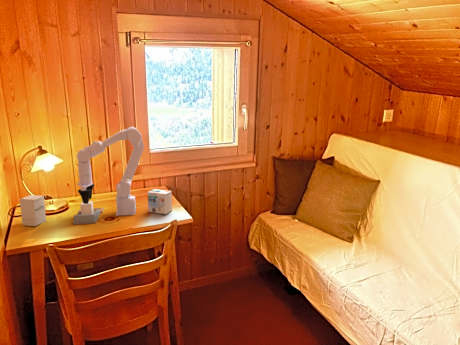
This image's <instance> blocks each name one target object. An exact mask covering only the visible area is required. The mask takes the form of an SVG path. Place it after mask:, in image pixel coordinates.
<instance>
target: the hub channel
mask: <svg viewBox="0 0 460 345" xmlns="http://www.w3.org/2000/svg"><path fill="white" fill-rule="evenodd" d="M100 214H101V213H100V212H99V209H97V210H96V212H94V213H93V214H85V215H81V209H80V210H78V212H77V214H73V222H72V224H73V225H83V224H87V225H88V224H96V223H97V221H98V220H99V217H100Z"/></svg>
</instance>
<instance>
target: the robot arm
mask: <svg viewBox="0 0 460 345" xmlns="http://www.w3.org/2000/svg"><path fill="white" fill-rule="evenodd" d="M127 140H128V141H129V142H130V143H131V145H132V147H133V149H132V151H131V154H130V157H129V160H128V162H127V164H126V168H125V169H124V172H123V175H122V177H121V179H120V181H119V182H118V183H117V184H116V186H115V188H116V189H115V190H116V195H115V201H116V202H115V204H116V212H115V217H116V216H134V215H136V212H137V207H136V205H137V204H136V196H135V195H132V194H131V186H132V183H133V182H132V181H133V178H134V175H135V173H136V171H137V168H138V165H139V162H140V160H141V157H142V154H143V152H144V149H145V144H144V140H143V135H142V134H141V132H140V131H139V130H138V129H137V128H136V127H134V126H129V127H127V128H124V129H122V130H119V131H118V132H116V133H115V134H112V135H111V136H110V137H107V138H106V139H104V140H103V141H100V140H97V141H96V140H94V141H93V142H92V144H90V145H88V146H84V147H83V148H81V149H80V150H78V152H77V155H76V158H77V164H78V165H77V170H78V179H79V180H78V181H79V182H78V183H76V186H79V187H80V189H78V190H77V193H78V194H79V196H80V198H81V200H82V201H81V202H83V203H84V204H88V203H89V201H90V200H92V195H93V190H94V187H95V184H94V182H93V176H92V175H93V174H92V167H91V166H92V165H91V158H95V157H96V156H98V155H100V154H102V153H103V152H106V148H107V147H109V146H112V145H113V144H115V143H117V142H119V141H127Z"/></svg>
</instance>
